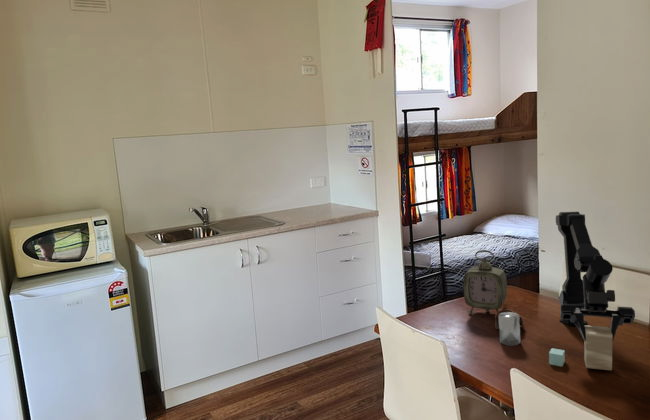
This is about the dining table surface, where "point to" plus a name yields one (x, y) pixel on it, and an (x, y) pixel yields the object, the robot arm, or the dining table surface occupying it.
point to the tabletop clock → (485, 286)
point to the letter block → (556, 357)
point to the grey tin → (509, 328)
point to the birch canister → (598, 347)
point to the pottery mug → (507, 311)
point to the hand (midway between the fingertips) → (598, 341)
